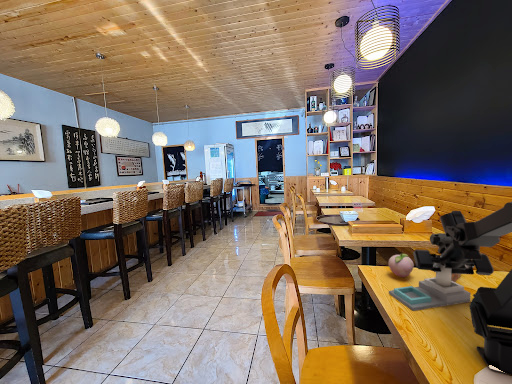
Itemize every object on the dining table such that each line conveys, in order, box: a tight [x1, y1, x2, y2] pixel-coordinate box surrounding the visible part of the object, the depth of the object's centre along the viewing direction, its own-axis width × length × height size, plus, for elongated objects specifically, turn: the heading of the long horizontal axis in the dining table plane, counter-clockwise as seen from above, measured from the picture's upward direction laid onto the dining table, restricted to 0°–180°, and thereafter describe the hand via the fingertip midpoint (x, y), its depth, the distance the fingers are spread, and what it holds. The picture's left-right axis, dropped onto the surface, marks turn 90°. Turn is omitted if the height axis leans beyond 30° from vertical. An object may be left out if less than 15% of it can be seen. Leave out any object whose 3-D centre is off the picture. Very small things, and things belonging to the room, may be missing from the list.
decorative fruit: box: [387, 252, 415, 278], centre depth 87 cm, size 9×8×10 cm
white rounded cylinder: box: [435, 266, 452, 288], centre depth 74 cm, size 5×4×10 cm
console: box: [388, 276, 471, 312], centre depth 73 cm, size 21×10×4 cm, turn 99°
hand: (441, 271), depth 75 cm, fingers closed on white rounded cylinder, 4 cm apart
